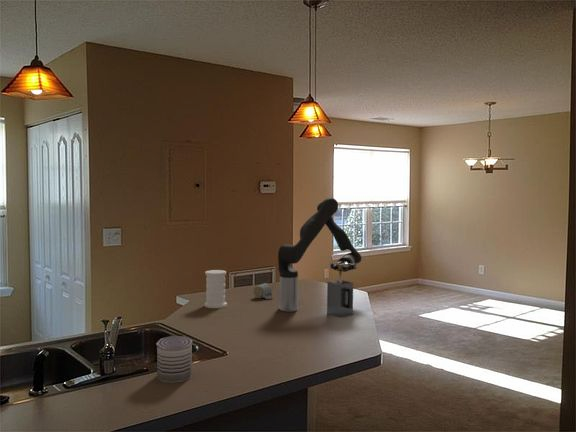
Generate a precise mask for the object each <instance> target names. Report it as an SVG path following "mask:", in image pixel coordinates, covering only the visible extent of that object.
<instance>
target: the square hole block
mask: <svg viewBox="0 0 576 432" xmlns="http://www.w3.org/2000/svg"><path fill="white" fill-rule="evenodd" d="M326 285H327V290H326V293H327V294H326V295H327V296H326V314H328V315H330V316H334V317H337V318H342V317H343V318H344V317H349V316H353V315H354V314H353V313H354V282H352V281H348V280H343V279H342V283H339V279H337V280H331V281H327V283H326Z"/></svg>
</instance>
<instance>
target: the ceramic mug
mask: <svg viewBox="0 0 576 432" xmlns="http://www.w3.org/2000/svg"><path fill="white" fill-rule="evenodd" d="M272 291H273V290H272V287H271V285H270V284H269V283H267V282H264V283H262V284H259V285H257V286H255V287H254V289H253V295H254V296H255V297H256V298H257V299H263V298H265V299H266V300H272V299H273V298H274V295H273V293H272Z"/></svg>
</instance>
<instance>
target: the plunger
mask: <svg viewBox="0 0 576 432" xmlns="http://www.w3.org/2000/svg"><path fill="white" fill-rule="evenodd" d="M344 266H345V264H337V268H336V270H335V271H337V272H338V276H339V277H338V280H339V283H342V280H343V279H342V278H343V276H342V275H343V273H342V272H343V267H344Z"/></svg>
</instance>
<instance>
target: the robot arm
mask: <svg viewBox="0 0 576 432" xmlns="http://www.w3.org/2000/svg"><path fill="white" fill-rule="evenodd" d="M316 207H317V208H316V212H315V213H313V215H312V216H310V217H309V218H308V219H307V220H306V221H305V222H304V223H303V225H302V226H301V228H300V229H299V240H298V242H297V243H296V244H294V245H293V244H282V245H281V246H280V247H279V249H278V252H277V262H278V273H279V290H278V303H277V304H278V310H280V312H281V311H282V312H286V313H287V312H296V311H298V309H299V308H298V303H299V301H298V300H299V299H298V296H299V293H298V291H299V290H298V289H299V287H298V286H299V272H298V270H297V269H295V268H294V267H293V266H292V265H291V264H293V265H294V264H297V263H299V262H300V261H301V259H302V258H303V256H304V255H305V253H306V251H307V249H308V248H309V247H310V246H311V244H312V242H313V241H314V240H315V238H317V236H318V235H319V233H320V232H321V231H322V229H323V228H324V227H325V226H326V227H327V228H328V230H329V231H330V233H331V235H332V236H333V238H334V240H335V242H336V245H337V246H338V249H339V250H340V251H341V252H344V251H350V252H348V253H347V254H345V255H343V256H341V258H339V259H338V260H337V262H335V263H334V262H332V261H331V262H330V266H329V268H330V269H331V270H333V271H336V268H337V264H345V266H344V267H343V271H342V272H343V273H344V272H345V273H346V272H348V271H352V270H353V271H354V270H356V269H357V264H359V263H360V262H362V255H361V253H360V252H359V251H358V250H357V249H356V248H355V246H354V245H353V244H352V242H351V240H350V238H349V237H348V235H347V234H348V233H346V231H345V230H344V229H343V228H341V227H340V226H339V225H338V224H337V223H336V221H335V220H334V218H333V215H335V214H336V213H337V211H338V210H339V203H338V201H337V199H335V198H334V197H329V198H325V199H324V200H323V201H321V202H320V203H318V205H317V206H316Z"/></svg>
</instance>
